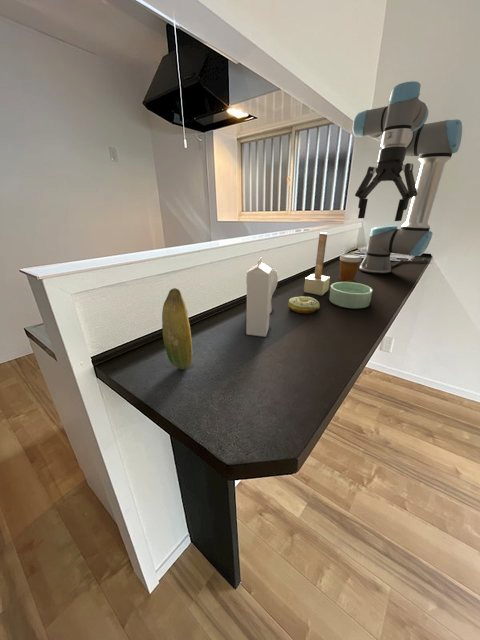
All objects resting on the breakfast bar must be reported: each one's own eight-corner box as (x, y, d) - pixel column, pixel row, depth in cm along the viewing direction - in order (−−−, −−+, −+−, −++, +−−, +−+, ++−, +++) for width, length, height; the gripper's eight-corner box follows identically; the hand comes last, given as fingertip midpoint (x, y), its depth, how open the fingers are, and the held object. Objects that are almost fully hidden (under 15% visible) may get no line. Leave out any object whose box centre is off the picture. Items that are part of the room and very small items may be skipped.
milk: (246, 334, 78) (246, 260, 69) (250, 325, 84) (250, 256, 74) (266, 337, 77) (269, 261, 67) (269, 327, 82) (272, 256, 73)
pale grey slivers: (273, 305, 99) (275, 265, 93) (278, 316, 90) (280, 273, 83) (245, 305, 99) (245, 266, 92) (246, 317, 89) (247, 274, 83)
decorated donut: (324, 312, 93) (326, 302, 92) (299, 317, 89) (300, 306, 88) (306, 302, 102) (307, 292, 100) (283, 306, 98) (283, 296, 96)
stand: (310, 287, 119) (312, 274, 116) (328, 290, 114) (330, 276, 112) (303, 291, 113) (305, 278, 110) (322, 295, 108) (324, 281, 106)
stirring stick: (314, 289, 115) (321, 232, 105) (319, 290, 114) (327, 232, 103) (312, 291, 113) (319, 233, 103) (317, 292, 112) (325, 233, 102)
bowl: (334, 293, 111) (337, 279, 108) (372, 300, 103) (375, 285, 101) (323, 304, 100) (326, 289, 97) (364, 313, 92) (368, 296, 90)
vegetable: (199, 371, 62) (192, 291, 53) (173, 381, 59) (162, 297, 50) (189, 359, 66) (181, 283, 58) (164, 367, 63) (152, 288, 55)
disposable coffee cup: (335, 282, 125) (339, 256, 120) (336, 277, 133) (340, 253, 128) (356, 284, 122) (362, 258, 116) (357, 279, 129) (362, 254, 124)
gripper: (351, 151, 90) (341, 217, 99) (431, 140, 71) (409, 222, 80) (364, 153, 94) (354, 216, 103) (443, 142, 75) (422, 221, 84)
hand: (378, 219), depth 92 cm, fingers open, 13 cm apart
